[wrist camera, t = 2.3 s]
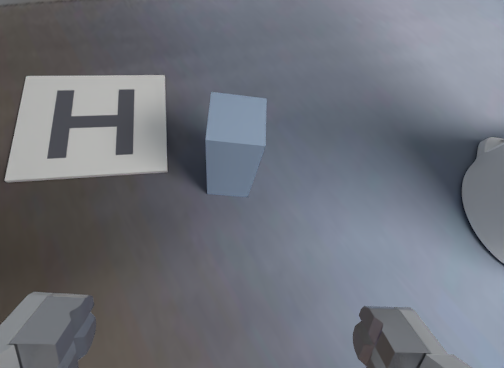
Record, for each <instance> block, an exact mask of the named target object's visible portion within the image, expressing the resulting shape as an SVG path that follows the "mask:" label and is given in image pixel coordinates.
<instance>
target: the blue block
mask: <svg viewBox="0 0 504 368" xmlns="http://www.w3.org/2000/svg"><path fill="white" fill-rule="evenodd" d="M266 105H267V98H259V97H250V96H242V95H234V94H226V93H217V92H211V98H210V106H209V114H208V123H207V131H206V139H205V142H206V172H207V194H214V195H226V196H238V197H248V195H249V192H250V189H251V187H252V184H253V181H254V178H255V175H256V172H257V169H258V167H259V164H260V161H261V158H262V155H263V152H264V149H265V147H266Z"/></svg>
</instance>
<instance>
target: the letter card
mask: <svg viewBox="0 0 504 368" xmlns="http://www.w3.org/2000/svg"><path fill="white" fill-rule="evenodd" d="M163 172H168V166H167V128H166V91H165V75H109V76H26V80H25V84H24V89H23V94H22V99H21V104H20V108H19V113H18V118H17V123H16V128H15V132H14V137H13V142H12V147H11V152H10V156H9V161H8V166H7V171H6V176H5V180H4V181H6V182H7V183H8V182H24V181H39V180H55V179H70V178H85V177H101V176H116V175H132V174H147V173H163Z"/></svg>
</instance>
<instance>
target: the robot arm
mask: <svg viewBox="0 0 504 368" xmlns="http://www.w3.org/2000/svg"><path fill="white" fill-rule="evenodd" d="M462 200H463V205H464V209H465V212H466V215H467V217H468V220H469V222H470V224H471V226H472V228H473V230H474V231H475V233H476V234H477V236H478V237H479V239H480V240H481V242H482V243H483V244H484V245H485V246H486V248H487V249H488V250H489V251H490V252H491V253H492V254H493V255H494V256H495V257H496V258H497V259H498V260H500V261H501V262H502V263H503V264H504V139H502V138H495V137H489V138H487V139H485V140H483V141H481V142H480V143H479V146H478V151H477V158H476V160H475V161H474V163H473V164H472V165H471V166H470V167H469V169H468V170H467V172H466V174H465V176H464V179H463V183H462ZM93 306H94V302H93V296H90V295H80V294H65V293H44V292H33V293H31V294H29V295H27V296H26V297H25V298H24V300H23V301H22V302H21V303H20V304H19V305H18V306H17V307H16V308H15V309H14V311H13V312H12V313H11V314H10V315H9V316H8V317H7V318H6V319H5V320H4V321H3V323H2V324H1V325H0V368H78V360H79V359H80V358H82V357H83V356H84V355H86V354H87V352H88V350H89V348H90V346H91V344H92V341H93V338H94V335H95V329H96V319H95V316H94V315H93V314H92V313H91V310H92V308H93ZM359 317H360V319H361V320H362V321H361V322H359V323H358V324H357V325H356V326H355V328H354V332H353V345H354V349H355V352H356V354H357V357H358V359H359V360H360V361H361V362H362V363H363V364H365V365H366V368H472V367H470V366H469V365H467V364H466V363H464V362H463V361H462V360H460V359H459V358H457V357H456V356H454V355H449V354H448V353H447V352H446V351H445V350H444V348H443V347H442V346H441V344H440V343H439V342H438V340H437V339H436V338H435V337H434V335H433V334H432V333H431V331H430V330H429V329H428V327H427V326H426V325H425V323H424V322H423V321H422V320H421V318H420V317H419V316H418V314H417V313H416V312H415V311H414V310H413V309H411V308H410V307H375V306H364V307H363V308H362V309H361V311H360V314H359Z"/></svg>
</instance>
